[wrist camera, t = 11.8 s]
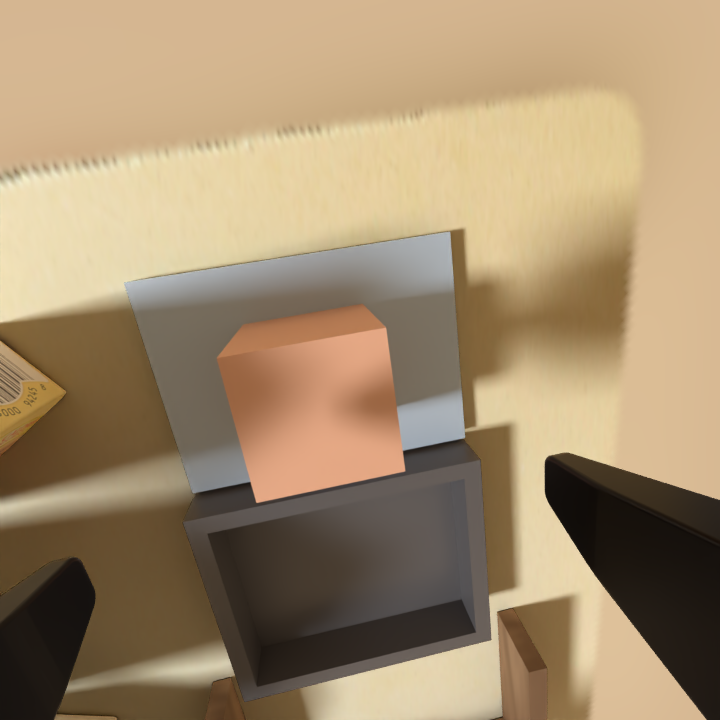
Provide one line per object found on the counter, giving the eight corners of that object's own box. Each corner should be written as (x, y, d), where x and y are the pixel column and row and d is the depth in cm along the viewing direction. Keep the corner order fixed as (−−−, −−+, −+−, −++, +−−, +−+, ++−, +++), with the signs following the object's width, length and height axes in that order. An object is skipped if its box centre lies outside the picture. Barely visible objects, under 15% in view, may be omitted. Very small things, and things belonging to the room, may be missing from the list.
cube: (269, 432, 17) (256, 503, 13) (243, 324, 16) (216, 358, 11) (378, 411, 18) (405, 471, 13) (362, 303, 16) (386, 327, 12)
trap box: (251, 652, 22) (244, 702, 19) (198, 486, 19) (182, 522, 16) (472, 599, 23) (491, 640, 21) (459, 434, 20) (480, 459, 17)
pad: (197, 483, 18) (192, 493, 18) (132, 280, 16) (123, 282, 15) (459, 430, 20) (465, 437, 19) (443, 232, 17) (450, 231, 16)
